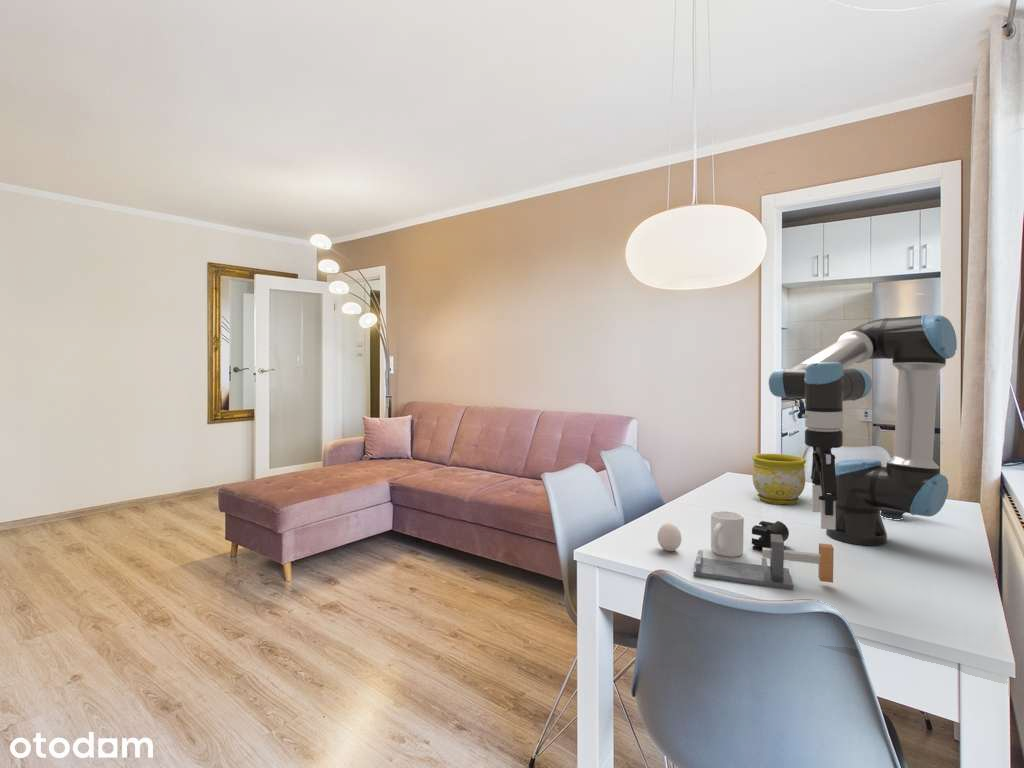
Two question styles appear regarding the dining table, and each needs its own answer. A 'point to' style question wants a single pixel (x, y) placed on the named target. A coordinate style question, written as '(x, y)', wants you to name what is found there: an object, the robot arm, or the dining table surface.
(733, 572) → the dock
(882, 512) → the mortar and pestle
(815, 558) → the lever
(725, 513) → the mug
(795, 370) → the robot arm
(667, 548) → the egg
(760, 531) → the end cap
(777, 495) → the flowerpot
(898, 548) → the dining table surface
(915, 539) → the dining table surface
